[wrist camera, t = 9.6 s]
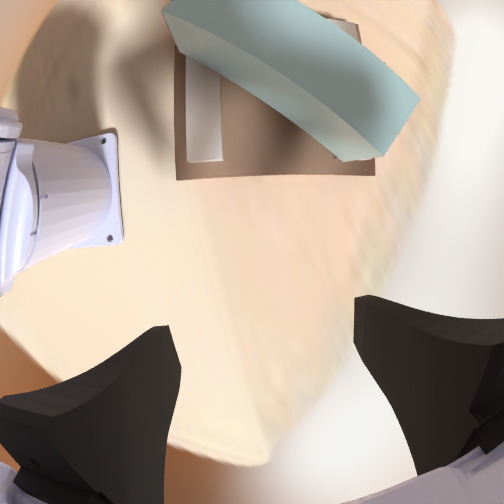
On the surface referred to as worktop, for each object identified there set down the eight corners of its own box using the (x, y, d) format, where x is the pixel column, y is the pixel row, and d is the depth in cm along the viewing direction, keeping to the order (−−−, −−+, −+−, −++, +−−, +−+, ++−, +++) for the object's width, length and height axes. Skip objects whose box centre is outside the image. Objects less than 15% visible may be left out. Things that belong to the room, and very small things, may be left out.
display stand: (180, 180, 18) (170, 180, 15) (180, 28, 15) (172, 9, 12) (366, 175, 19) (385, 175, 16) (350, 32, 16) (365, 15, 13)
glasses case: (179, 52, 13) (161, 11, 9) (222, 8, 13) (219, -38, 8) (343, 162, 16) (383, 156, 11) (377, 113, 15) (422, 95, 10)
